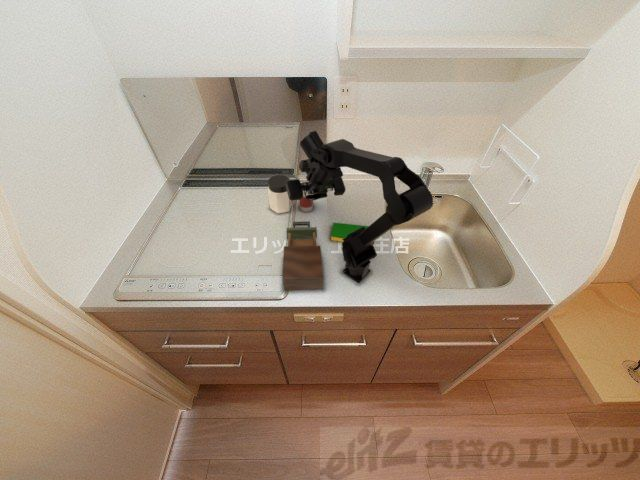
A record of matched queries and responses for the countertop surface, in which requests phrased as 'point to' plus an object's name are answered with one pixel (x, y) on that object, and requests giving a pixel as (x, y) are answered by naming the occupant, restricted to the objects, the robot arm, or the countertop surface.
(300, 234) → the drawer
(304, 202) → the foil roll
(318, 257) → the cabinet
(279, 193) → the jar
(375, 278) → the countertop surface
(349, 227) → the dish sponge
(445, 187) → the countertop surface
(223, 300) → the countertop surface
